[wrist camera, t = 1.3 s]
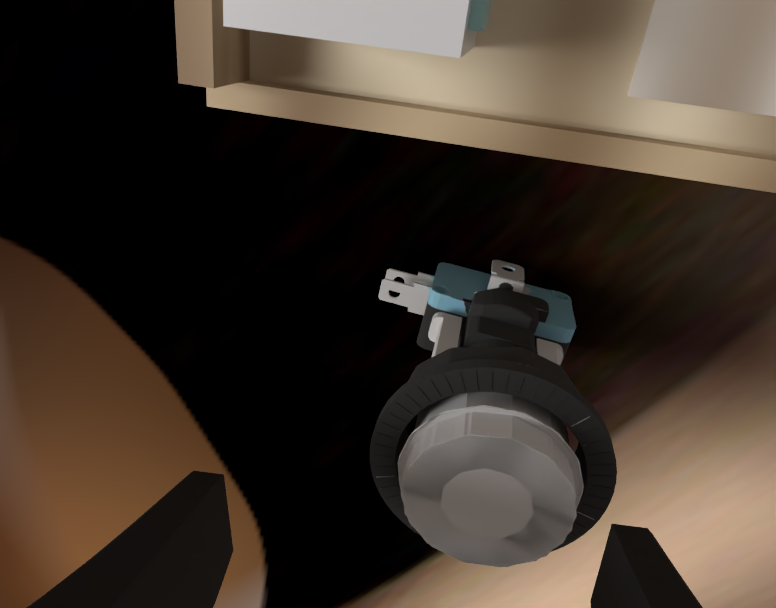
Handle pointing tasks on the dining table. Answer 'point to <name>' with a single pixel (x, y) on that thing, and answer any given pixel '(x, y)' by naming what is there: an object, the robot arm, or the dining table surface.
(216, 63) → the beige tray
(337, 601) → the dining table surface
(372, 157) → the dining table surface
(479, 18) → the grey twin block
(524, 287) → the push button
